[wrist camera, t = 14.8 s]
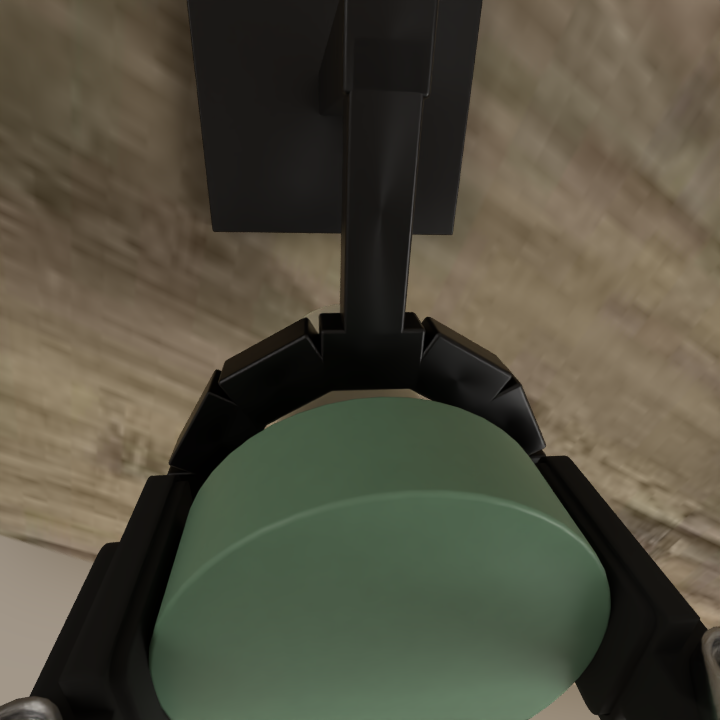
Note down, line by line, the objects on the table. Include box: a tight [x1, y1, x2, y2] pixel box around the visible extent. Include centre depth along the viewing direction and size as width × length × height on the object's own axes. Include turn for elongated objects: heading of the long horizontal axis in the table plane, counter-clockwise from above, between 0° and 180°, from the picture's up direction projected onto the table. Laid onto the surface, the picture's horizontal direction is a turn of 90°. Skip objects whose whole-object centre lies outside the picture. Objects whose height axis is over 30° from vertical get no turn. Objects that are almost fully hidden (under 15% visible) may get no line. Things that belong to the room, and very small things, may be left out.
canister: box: [149, 304, 611, 720], centre depth 12 cm, size 8×8×11 cm
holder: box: [167, 0, 546, 502], centre depth 14 cm, size 10×18×12 cm, turn 178°
